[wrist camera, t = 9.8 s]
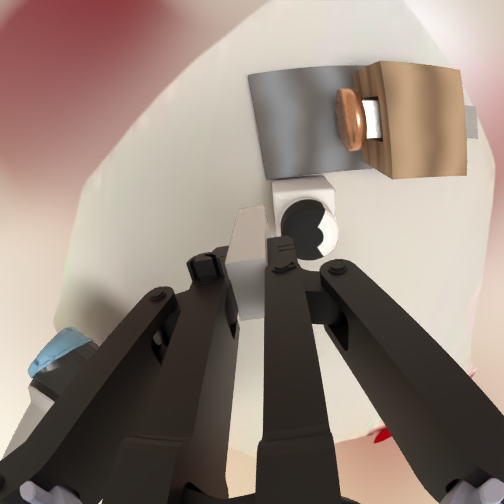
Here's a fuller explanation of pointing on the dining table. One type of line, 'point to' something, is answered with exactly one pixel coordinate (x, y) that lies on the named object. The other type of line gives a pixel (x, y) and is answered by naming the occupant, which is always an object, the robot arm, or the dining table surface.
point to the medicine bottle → (306, 214)
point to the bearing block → (376, 149)
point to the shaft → (372, 119)
